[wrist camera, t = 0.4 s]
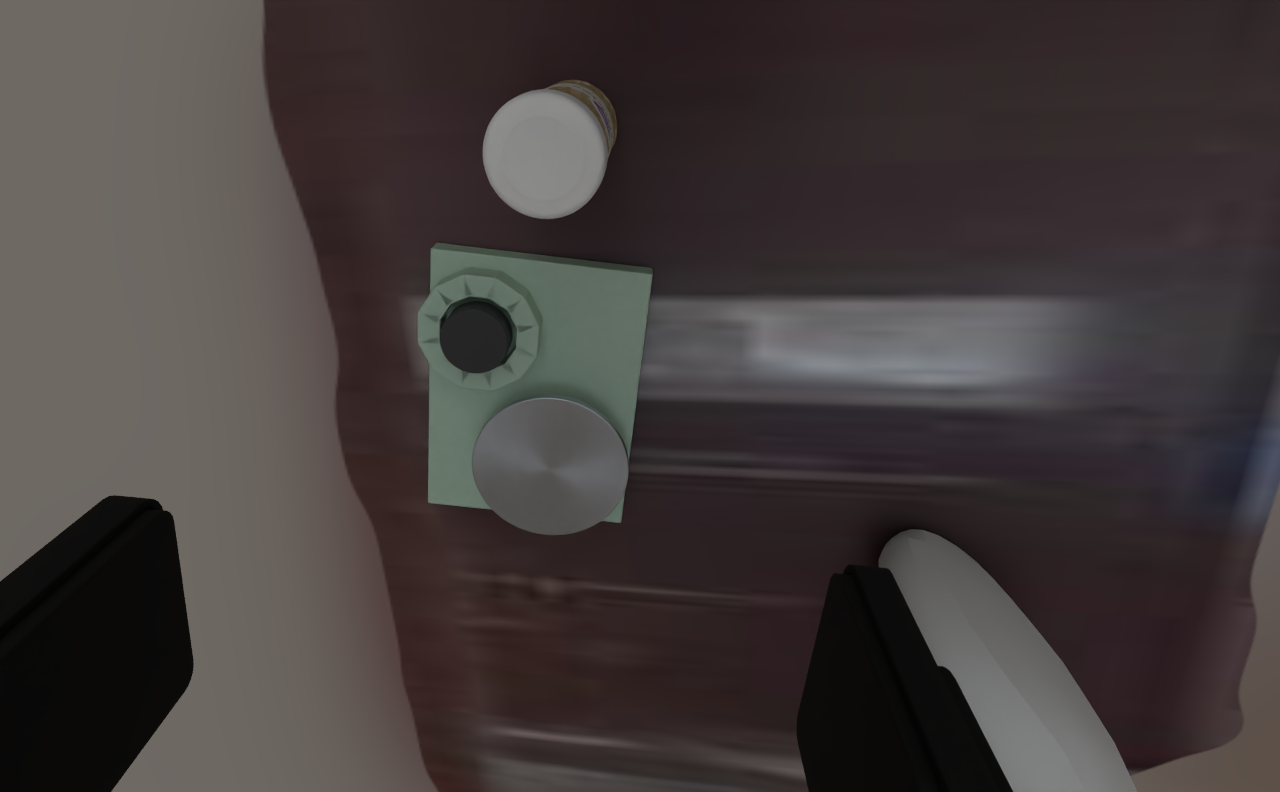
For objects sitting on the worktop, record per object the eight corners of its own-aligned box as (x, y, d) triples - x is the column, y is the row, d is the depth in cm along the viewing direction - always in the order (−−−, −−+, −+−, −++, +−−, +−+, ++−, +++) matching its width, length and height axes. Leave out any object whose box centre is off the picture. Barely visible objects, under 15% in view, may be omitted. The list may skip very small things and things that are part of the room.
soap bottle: (811, 556, 52) (962, 1022, 27) (909, 478, 49) (1171, 912, 25) (949, 674, 56) (1190, 1175, 31) (1046, 607, 53) (1390, 1092, 29)
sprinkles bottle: (635, 131, 41) (631, 168, 29) (569, 188, 42) (538, 246, 30) (577, 57, 40) (547, 62, 27) (511, 118, 41) (453, 149, 29)
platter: (476, 385, 44) (474, 389, 43) (637, 403, 44) (637, 407, 44) (471, 522, 47) (469, 527, 47) (620, 537, 48) (620, 542, 47)
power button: (446, 296, 42) (439, 305, 41) (514, 304, 42) (509, 313, 41) (445, 359, 43) (438, 370, 42) (510, 366, 44) (506, 377, 42)
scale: (432, 241, 44) (417, 254, 41) (652, 267, 44) (653, 282, 41) (429, 491, 50) (416, 517, 47) (621, 511, 50) (620, 537, 48)
